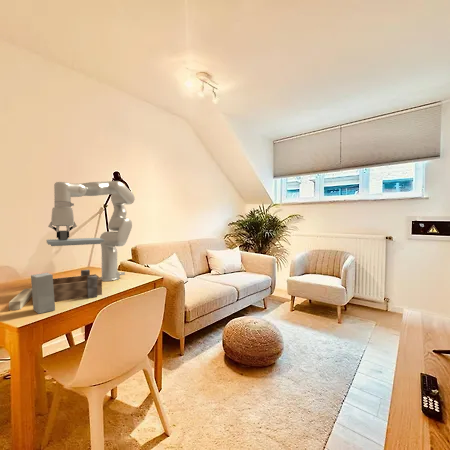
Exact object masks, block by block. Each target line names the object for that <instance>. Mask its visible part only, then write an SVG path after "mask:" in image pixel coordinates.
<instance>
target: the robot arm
mask: <svg viewBox="0 0 450 450" xmlns="http://www.w3.org/2000/svg"><path fill="white" fill-rule="evenodd" d="M53 192H54V193H53V195H54V199H53V200H54V203H53V204H54V207H52V210H51V220H50V223H49V224H48V228H50V229H53V230H54V231H55V232H56V239H60V232H59V231H60V227H65V228H66V230H65V231H67V239H70V232H71V231H72V230H73V229H75V228H77V226H78V225H77V224H76V222H75V221H74V211H73V210H74V209H73V207H74V206H75V203H72V202H71V201H72V198H81V197H97V196H105V195H106V196H107V195H111V196H110V200H111V204H112V206H113V212H112V215H111V217H110V219H109V222H108V225H107V228H108V229H109V230H110V231H104V232H102V233H101V234H100V236H99V238H100V239H104V242H101V244H100V247H101V248H100V249H101V276H99V277H100V278H101V279H102V282H111V281H112V280H113V281H118V280H119V279H120V278H121V277H120V276H125V275H126V272H125V271H121V272H119V271H118V250H117V247H123V246H125V245H126V243H127V242H128V239H129V236H130V234H131V231H132V228H133V222H132V220H131V219H130V218H129V217H126V216H127V209H126V207H125V205H132V204H133V203H134V202H135V200H136V199H135V195H134V193H133V192H132V191H131V190H130V189H129V188H128V187H127V185H126V184H124V183H123V182H121V181H119V180H110V181H108V180H107V181H90V182H83V183H71V182H70V183H69V182H67V181H66V182H65V181H56V182H54V186H53Z"/></svg>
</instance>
